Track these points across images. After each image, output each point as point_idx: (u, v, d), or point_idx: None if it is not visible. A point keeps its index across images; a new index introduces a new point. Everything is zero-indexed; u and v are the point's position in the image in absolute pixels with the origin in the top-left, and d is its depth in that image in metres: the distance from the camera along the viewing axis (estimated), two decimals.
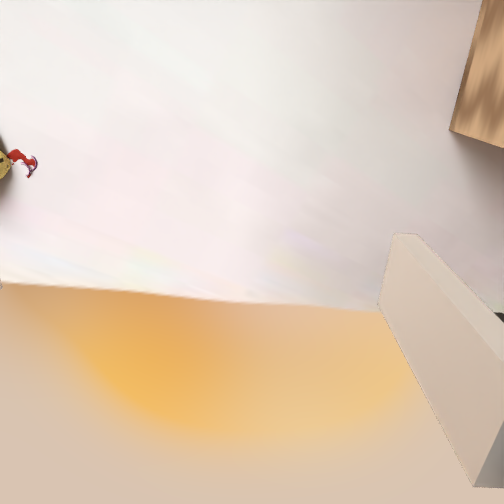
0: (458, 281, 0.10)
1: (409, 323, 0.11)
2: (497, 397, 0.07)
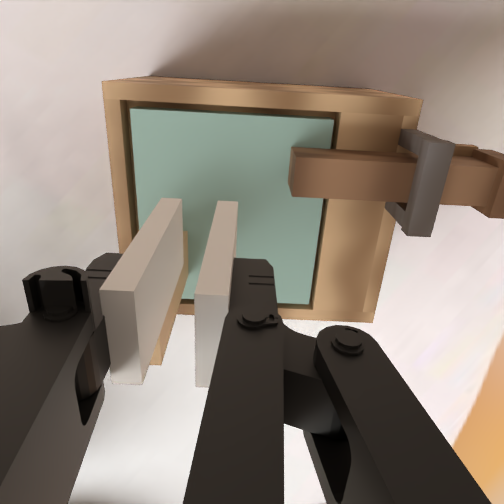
0: (231, 233, 0.12)
1: None
2: None
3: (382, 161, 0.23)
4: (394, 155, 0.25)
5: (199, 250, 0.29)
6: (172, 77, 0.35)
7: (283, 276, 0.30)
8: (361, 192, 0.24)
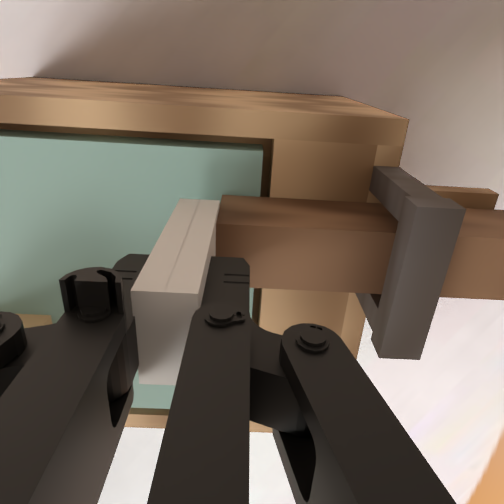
0: (208, 231, 0.12)
1: None
2: None
3: (367, 230, 0.13)
4: (389, 212, 0.15)
5: None
6: (65, 79, 0.25)
7: None
8: (333, 280, 0.14)
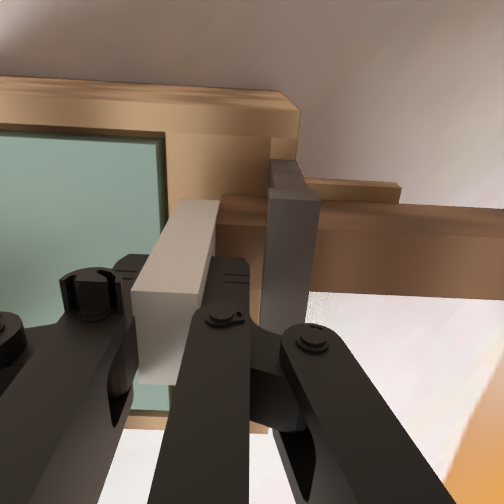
0: (208, 231, 0.12)
1: None
2: None
3: (369, 230, 0.13)
4: (391, 211, 0.15)
5: None
6: None
7: None
8: (334, 281, 0.14)
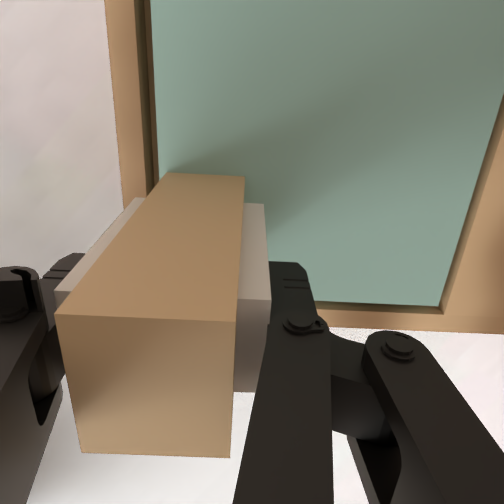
0: (262, 236, 0.12)
1: None
2: None
3: None
4: None
5: None
6: None
7: (402, 258, 0.18)
8: None
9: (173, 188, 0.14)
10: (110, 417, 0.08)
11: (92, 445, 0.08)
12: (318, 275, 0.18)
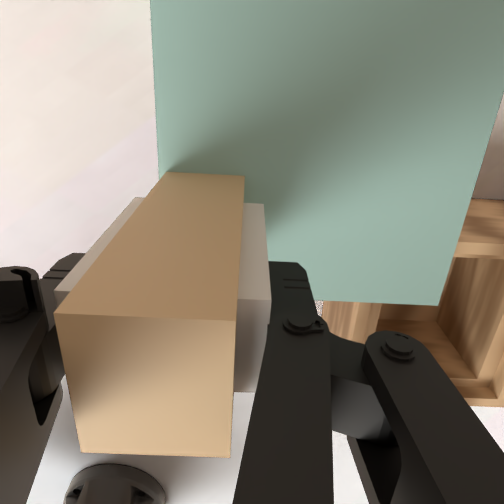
0: (262, 236, 0.12)
1: None
2: None
3: None
4: None
5: None
6: None
7: (403, 258, 0.18)
8: None
9: (173, 188, 0.14)
10: (109, 417, 0.08)
11: (91, 445, 0.08)
12: (318, 275, 0.18)
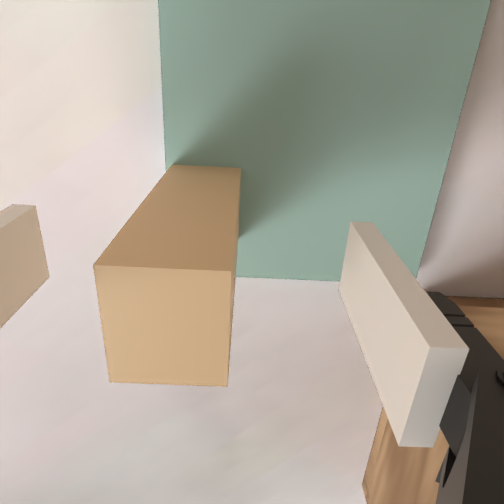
0: (399, 263, 0.10)
1: (360, 304, 0.12)
2: (415, 362, 0.08)
3: None
4: None
5: (257, 200, 0.19)
6: (451, 297, 0.22)
7: None
8: None
9: (178, 177, 0.16)
10: (133, 351, 0.10)
11: (118, 375, 0.11)
12: (307, 256, 0.20)
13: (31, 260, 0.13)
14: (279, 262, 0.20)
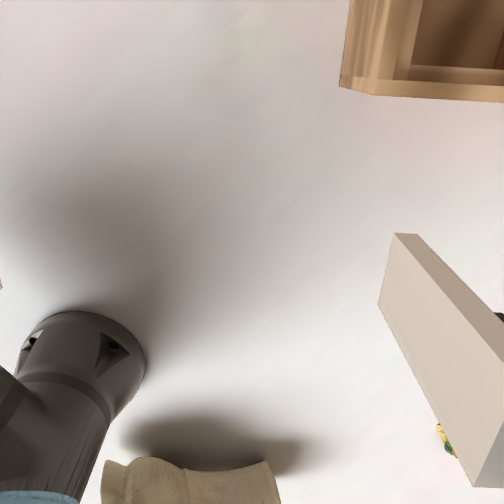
0: (458, 281, 0.10)
1: (409, 323, 0.11)
2: (497, 397, 0.07)
3: None
4: None
5: None
6: None
7: None
8: None
9: None
10: None
11: None
12: None
13: None
14: None
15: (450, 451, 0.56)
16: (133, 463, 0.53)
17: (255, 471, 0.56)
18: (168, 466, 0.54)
